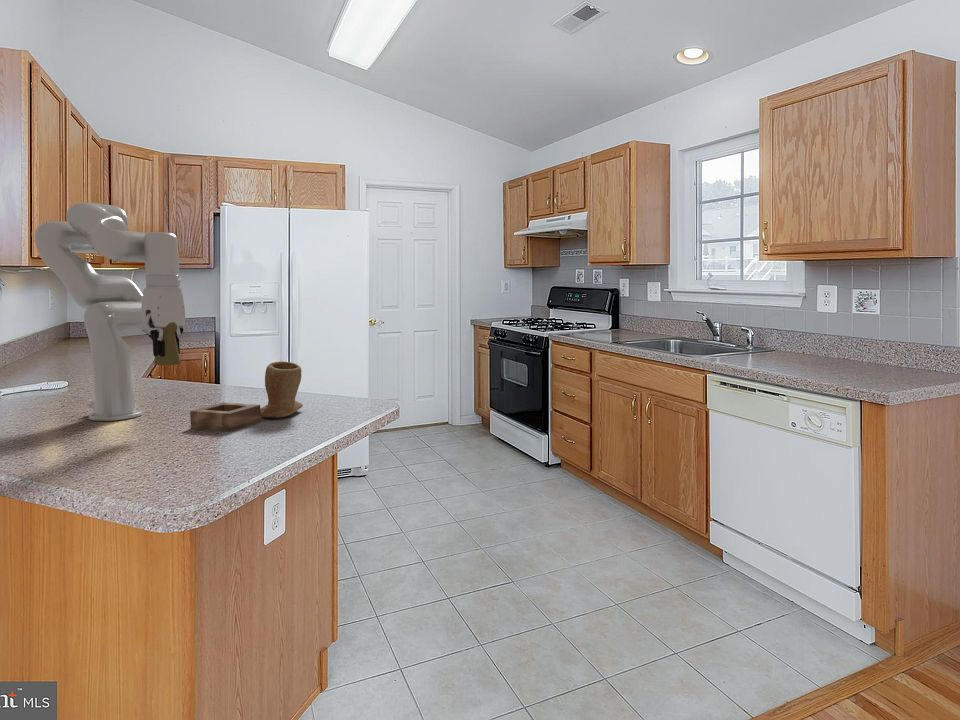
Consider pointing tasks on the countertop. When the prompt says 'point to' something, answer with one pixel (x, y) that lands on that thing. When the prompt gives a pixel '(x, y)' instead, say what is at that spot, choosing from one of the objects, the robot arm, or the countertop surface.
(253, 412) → the socket block
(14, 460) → the countertop surface
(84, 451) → the countertop surface
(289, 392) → the stone cup
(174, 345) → the olive knobbed peg
